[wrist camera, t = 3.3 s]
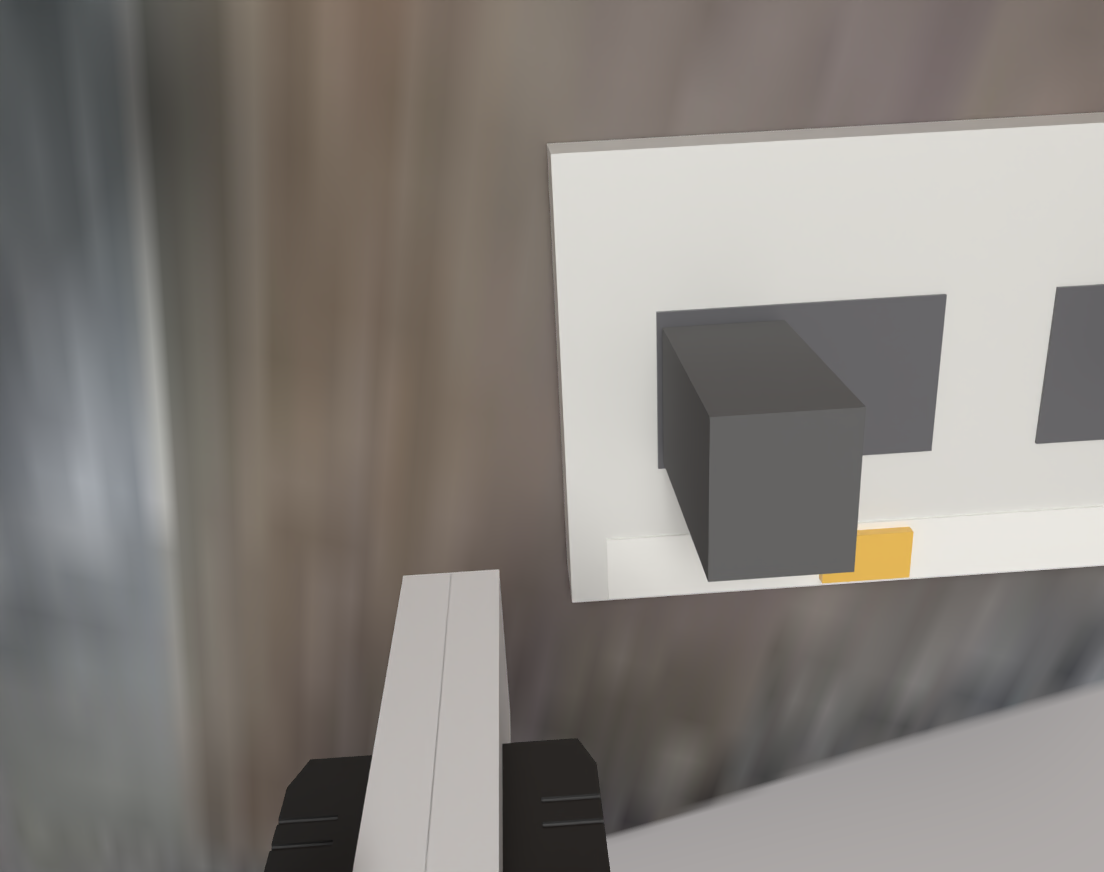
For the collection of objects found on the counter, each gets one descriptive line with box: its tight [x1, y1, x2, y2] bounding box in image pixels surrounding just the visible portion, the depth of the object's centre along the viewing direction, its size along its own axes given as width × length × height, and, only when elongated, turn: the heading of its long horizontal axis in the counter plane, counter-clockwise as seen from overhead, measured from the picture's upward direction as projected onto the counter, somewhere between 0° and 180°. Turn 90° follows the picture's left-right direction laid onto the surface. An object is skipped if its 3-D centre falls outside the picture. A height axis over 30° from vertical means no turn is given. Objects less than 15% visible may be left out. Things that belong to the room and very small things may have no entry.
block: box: [662, 320, 866, 582], centre depth 23 cm, size 3×4×6 cm
